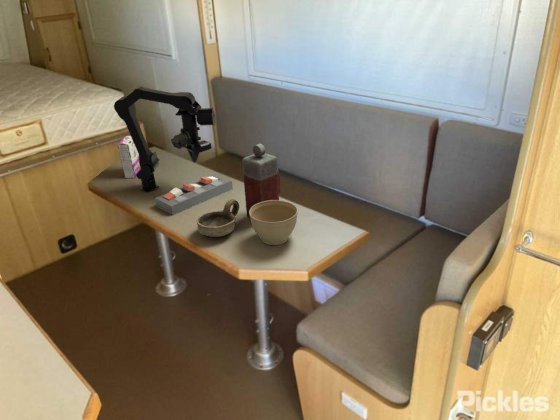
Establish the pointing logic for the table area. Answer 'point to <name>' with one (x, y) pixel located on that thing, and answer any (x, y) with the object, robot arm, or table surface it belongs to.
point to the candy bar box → (129, 157)
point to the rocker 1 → (173, 194)
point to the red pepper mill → (260, 177)
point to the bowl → (219, 220)
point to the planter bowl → (273, 220)
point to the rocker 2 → (191, 187)
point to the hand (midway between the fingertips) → (194, 162)
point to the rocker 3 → (208, 180)
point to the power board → (194, 195)
